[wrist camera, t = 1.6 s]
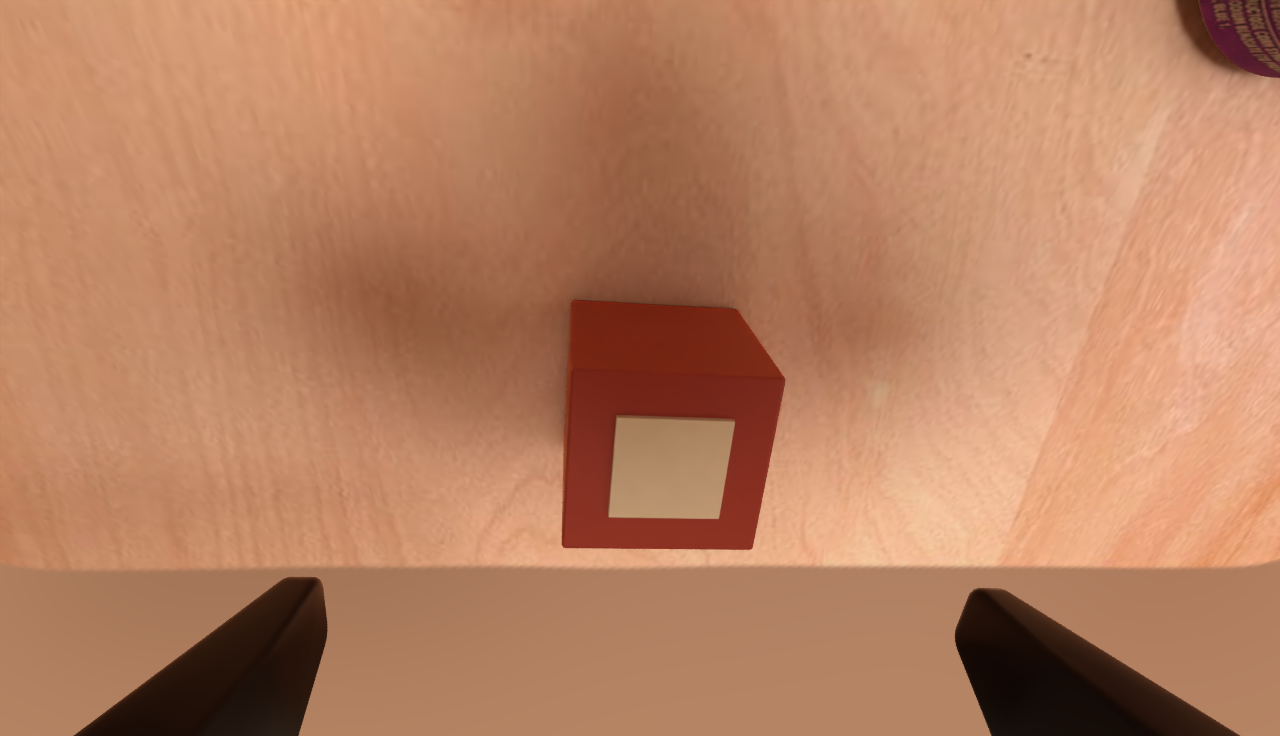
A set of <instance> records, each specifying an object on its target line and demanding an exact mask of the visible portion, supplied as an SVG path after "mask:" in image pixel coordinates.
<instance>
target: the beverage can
mask: <svg viewBox="0 0 1280 736" xmlns="http://www.w3.org/2000/svg"><path fill="white" fill-rule="evenodd" d="M1198 1H1199V6H1200V11H1201V15H1202V18H1203V21H1204V24H1205V27H1206V29H1207V31H1208V33H1209V35H1210V37H1211V39H1212V41H1213V42H1214V43H1215V45H1216V46H1217V48H1218V49H1219V50H1220V51H1221V52H1222V54H1223V55H1224V56H1225V57H1227V58H1228V59H1229V60H1230V61H1231V62H1233V63H1234V64H1235V65H1237V66H1238V67H1240V68H1242V69H1244V70H1246V71H1248V72H1251V73H1253V74H1257V75H1261V76H1266V77H1274V78H1280V0H1198Z"/></svg>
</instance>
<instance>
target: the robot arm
mask: <svg viewBox="0 0 1280 736" xmlns="http://www.w3.org/2000/svg"><path fill="white" fill-rule="evenodd" d="M326 638H327V617H326V608H325V600H324V592H323V585H322V583H321V581H320V580H319V579H318V578H316V577H287V578H285V579H283V580H281V581H280V582H278V583H277V584H276V585H274V586H273V587H272V588H270V589H269V590H268V591H266V592H265V593H264V594H262V595H261V596H260V597H258V598H257V599H256V600H254V601H253V602H252V603H250V604H249V605H248V606H246V607H245V608H244V609H242V610H241V611H240V612H238V613H237V614H236V615H234V616H233V617H232V618H230V619H229V620H228V621H226V622H225V623H223V624H222V625H221V626H220V627H218V628H217V629H216V630H214V631H213V632H211V633H210V634H209V635H207V636H206V637H205V638H204V639H202V640H201V641H200V642H198V643H197V644H195V645H194V646H193V647H191V648H190V649H189V650H187V651H186V652H185V653H184V654H182V655H181V656H179V657H178V658H177V659H175V660H174V661H173V662H171V663H170V664H169V665H167V666H166V667H165V668H163V669H162V670H161V671H160V672H158V673H157V674H155V675H154V676H153V677H151V678H150V679H149V680H147V681H146V682H145V683H144V684H142V685H141V686H139V687H138V688H137V689H135V690H134V691H133V692H131V693H130V694H129V695H127V696H126V697H125V698H123V699H122V700H121V701H119V702H118V703H117V704H115V705H114V706H113V707H112V708H110V709H109V710H107V711H106V712H105V713H103V714H102V715H101V716H99V717H98V718H97V719H95V720H94V721H93V722H92V723H90V724H89V725H87V726H86V727H85V728H83V729H82V730H81V731H79V732H78V733H77V734H76V735H74V736H298V735H299V731H300V728H301V725H302V722H303V718H304V715H305V711H306V708H307V705H308V701H309V698H310V694H311V691H312V687H313V684H314V681H315V677H316V674H317V671H318V667H319V664H320V660H321V657H322V654H323V650H324V647H325V643H326ZM955 642H956V646H957V650H958V652H959V655H960V657H961V660H962V662H963V665H964V667H965V670H966V673H967V675H968V678H969V680H970V683H971V685H972V688H973V690H974V693H975V695H976V698H977V700H978V703H979V705H980V708H981V710H982V713H983V715H984V718H985V720H986V723H987V725H988V728H989V730H990V733H991V735H992V736H1240V735H1238V734H1237V733H1235V732H1233V731H1231V730H1230V729H1228V728H1227V727H1225V726H1224V725H1222V724H1220V723H1219V722H1217V721H1216V720H1214V719H1212V718H1211V717H1209V716H1208V715H1206V714H1204V713H1203V712H1201V711H1199V710H1198V709H1196V708H1195V707H1193V706H1191V705H1190V704H1188V703H1187V702H1185V701H1183V700H1182V699H1180V698H1178V697H1177V696H1175V695H1174V694H1172V693H1170V692H1169V691H1167V690H1166V689H1164V688H1162V687H1161V686H1159V685H1157V684H1156V683H1154V682H1153V681H1151V680H1149V679H1148V678H1146V677H1144V676H1143V675H1141V674H1140V673H1138V672H1137V671H1135V670H1133V669H1132V668H1130V667H1128V666H1127V665H1125V664H1124V663H1122V662H1120V661H1119V660H1117V659H1115V658H1114V657H1112V656H1111V655H1109V654H1107V653H1106V652H1104V651H1103V650H1101V649H1099V648H1098V647H1096V646H1095V645H1093V644H1091V643H1090V642H1088V641H1087V640H1085V639H1083V638H1082V637H1080V636H1078V635H1077V634H1075V633H1074V632H1072V631H1070V630H1069V629H1067V628H1066V627H1064V626H1062V625H1061V624H1059V623H1058V622H1056V621H1054V620H1052V619H1051V618H1049V617H1047V616H1046V615H1045V614H1043V613H1041V612H1040V611H1038V610H1036V609H1035V608H1033V607H1032V606H1030V605H1029V604H1027V603H1025V602H1024V601H1022V600H1020V599H1019V598H1017V597H1016V596H1014V595H1012V594H1011V593H1009V592H1007V591H1006V590H1003V589H998V588H977V589H974V590H973V591H972V592H971V593H970V594H969V596H968V599H967V601H966V604H965V606H964V609H963V612H962V614H961V617H960V619H959V622H958V624H957V627H956V630H955Z"/></svg>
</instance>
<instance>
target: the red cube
mask: <svg viewBox="0 0 1280 736" xmlns="http://www.w3.org/2000/svg"><path fill="white" fill-rule="evenodd" d="M784 386H785V378H784V376H783V375H782V373H781V372H780V370H779V369H778V368H777V366H776V365H775V363H774V362H773V360H772V359H771V357H770V356H769V355H768V353H767V352H766V350H765V349H764V347H763V346H762V344H761V343H760V342H759V340H758V339H757V337H756V336H755V334H754V333H753V332H752V330H751V329H750V327H749V326H748V324H747V323H746V321H745V320H744V319H743V317H742V316H741V314H740V313H739V311H738V310H736V309H725V308H706V307H688V306H670V305H652V304H634V303H616V302H598V301H579V300H573V301H572V302H571V309H570V329H569V350H568V370H567V391H566V411H565V432H564V460H563V507H562V546H563V547H564V548H621V549H728V550H750V549H752V548H753V543H754V538H755V533H756V528H757V523H758V518H759V513H760V508H761V503H762V498H763V492H764V487H765V482H766V477H767V472H768V467H769V462H770V457H771V452H772V447H773V442H774V436H775V431H776V426H777V421H778V416H779V411H780V406H781V401H782V396H783V391H784Z"/></svg>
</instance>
